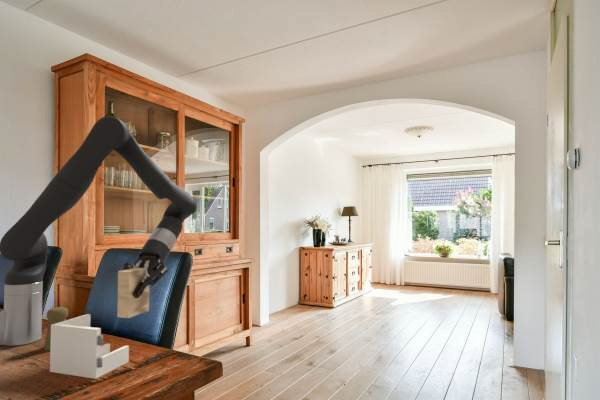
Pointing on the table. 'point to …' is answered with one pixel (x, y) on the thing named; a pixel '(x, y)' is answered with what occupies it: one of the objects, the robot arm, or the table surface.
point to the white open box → (82, 349)
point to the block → (126, 286)
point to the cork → (54, 322)
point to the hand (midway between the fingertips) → (128, 295)
